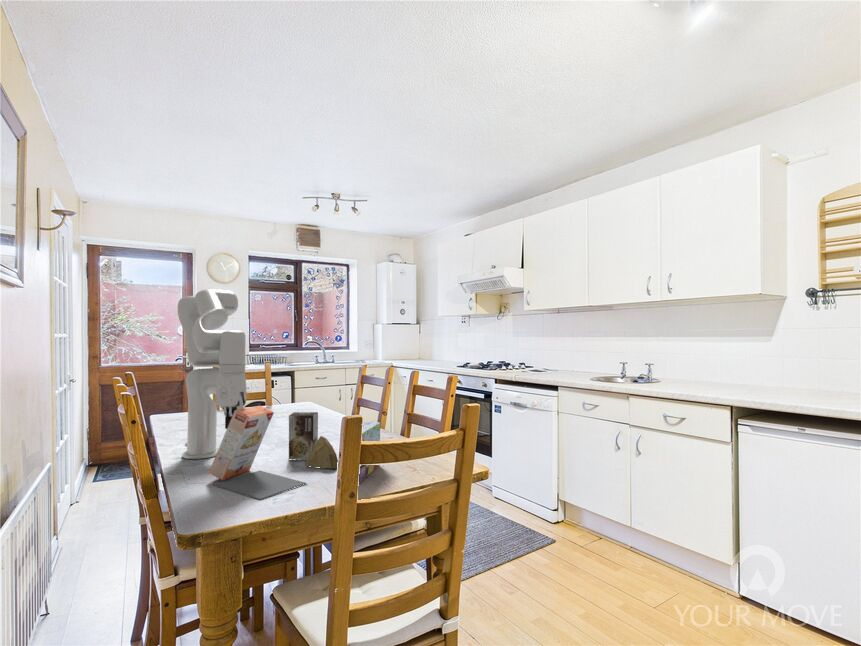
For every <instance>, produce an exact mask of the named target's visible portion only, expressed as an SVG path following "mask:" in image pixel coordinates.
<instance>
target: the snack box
mask: <svg viewBox="0 0 861 646" xmlns="http://www.w3.org/2000/svg"><path fill="white" fill-rule="evenodd" d="M363 423H364V425H363V433H362V441H380V442H381V424H382V423H381V422H379V421H366V422H363ZM378 467H380V464H379V465H361V466H360V474H359V484H360V483H361V482H363V481H364V480H365V479H366V478H367V477H368V476H369V475H370V474H372V473H373V471H375V470H376V469H377V468H378Z"/></svg>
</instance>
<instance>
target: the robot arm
mask: <svg viewBox="0 0 861 646" xmlns="http://www.w3.org/2000/svg"><path fill="white" fill-rule="evenodd" d="M238 299H239V298H238V296H237V295H236V293H234V291H231V290H224V289H201V290H200V291H198V292H197V293H195V295H187V296H184V297H181V298H180V299H179V300H178V303H177V315H178V320H179V322H180V325H181V327H182V330H183V331H184V335H185V341H186V342H185V343H186V351H187V352H186V354H187V359H188V362H189V365H190V366H192V367H194V368H196V369H193V370H191V371H189V372H188V373H187V374H186V376H185V377H186V378H185V385H186V386H185V387H186V394H187V438H186V439H187V441H186V443H184V446H185V447H186V450H185V451H184V452H182V454H181V456H182V458H183V459H187V460H201V459H203V460H204V459H209V458H213V457H214V458H215V456H216V454H217V452H218V449H219V447H217V424H218V423H217V419H218V417H217V416H218V406H219V408H220V409H221V410H223V415H224V416H225V418H224V419H225V421H224V428H225V430H227V428H228V425H229V423H230V420H231V418H232V416H233V413H234V411H235V410H238V409H244V408H245V407H244V406H246V404H247V395H248V393H247V392H248V391H247V380H246V379H247V378H246V334H245V332H244V331H242V330H223V329H222V330H221V329H220V330H219V328H221V327H223V326H224V325H226V323H227V322H228V319H229V316H232V315H233V314H235V312H237V310H238V308H239V300H238ZM211 395H215V401H214V399H212V397H211Z"/></svg>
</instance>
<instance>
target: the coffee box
mask: <svg viewBox="0 0 861 646" xmlns="http://www.w3.org/2000/svg"><path fill="white" fill-rule="evenodd" d="M318 414H319V413H318V411H316V412H315V411H314V412H313V411H312V412H311V411H309V412H308V411H307V412H305V411H304V412H303V411H302V412H299V411H298V412H296V411H295V412H292V413H290V415H288V460H289V459H302V460H301V461H307V460H308V457H309V455H310V454H311V452H312V450H313V448H314V446H315V444H316V442H317V441H318V439H319V438H318V437H319V428H318V427H319V415H318Z"/></svg>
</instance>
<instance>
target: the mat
mask: <svg viewBox="0 0 861 646" xmlns="http://www.w3.org/2000/svg"><path fill="white" fill-rule="evenodd" d="M306 483H307V482H305V481H301V480H297V479H293V478H290V477H285V476H282V475H278V474H275V473H270V472H267V471H263V470H257V471H253V472H249V473H246V474H242V475H238V476H234V477H231V478H228V479H226V480H224V481H222V480H221V481H218V482H215V483H212V486H215V487H217V486H218V487H217V488H220V487H221V489H224V490H227V491H230V492H232V493H237V494H240V495H242V494H243V496H246V497H248V498H249V497H250V498H252V499H255V498H256V499H255V500H258V499H259V500H258V501H263V500H265V499H268V498H271V497H274V496H276V494H277V495H280V494H282V493H281V492H283V491H286V490H288V491H290V490H289V489H291V490H293V489H292V488H294V487H297V486H300V485H303V484H306ZM306 485H307V484H306ZM303 486H304V485H303ZM300 487H301V486H300ZM297 488H298V487H297ZM294 489H295V488H294ZM286 492H287V491H286ZM279 493H280V494H279ZM283 493H284V492H283ZM273 495H274V496H273ZM270 496H271V497H270ZM267 497H268V498H267ZM264 498H265V499H264Z"/></svg>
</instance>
